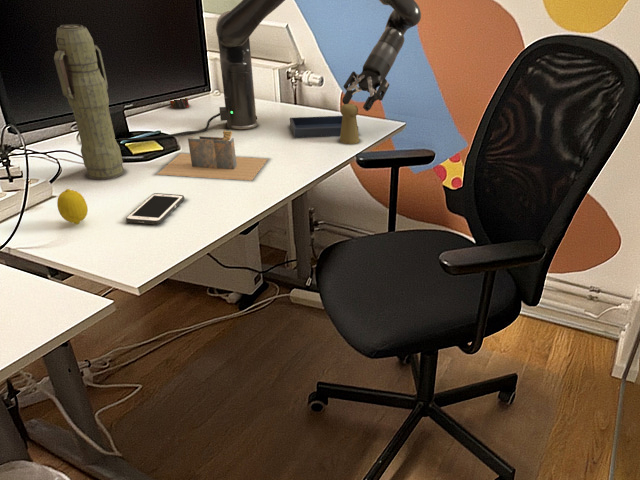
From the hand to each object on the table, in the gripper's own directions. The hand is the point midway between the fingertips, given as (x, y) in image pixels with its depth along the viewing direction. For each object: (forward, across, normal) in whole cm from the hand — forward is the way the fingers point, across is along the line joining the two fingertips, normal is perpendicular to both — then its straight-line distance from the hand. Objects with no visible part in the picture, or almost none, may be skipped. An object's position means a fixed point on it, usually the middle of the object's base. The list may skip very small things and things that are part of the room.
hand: (354, 106), depth 180 cm
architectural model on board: (+39, -10, -24) cm, 47 cm away
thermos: (+54, -26, -40) cm, 72 cm away
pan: (+8, -13, +7) cm, 16 cm away
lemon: (+68, -2, -54) cm, 87 cm away
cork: (+9, 0, +6) cm, 10 cm away
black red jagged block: (+20, -66, -5) cm, 69 cm away
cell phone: (+57, +4, -43) cm, 72 cm away
